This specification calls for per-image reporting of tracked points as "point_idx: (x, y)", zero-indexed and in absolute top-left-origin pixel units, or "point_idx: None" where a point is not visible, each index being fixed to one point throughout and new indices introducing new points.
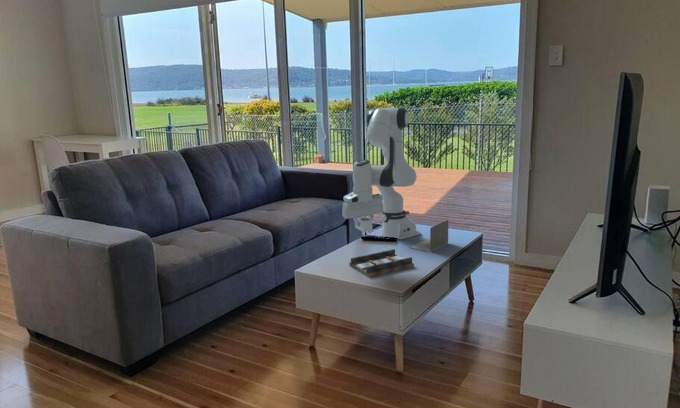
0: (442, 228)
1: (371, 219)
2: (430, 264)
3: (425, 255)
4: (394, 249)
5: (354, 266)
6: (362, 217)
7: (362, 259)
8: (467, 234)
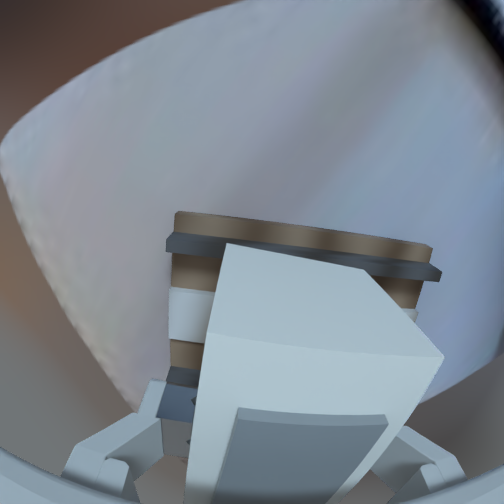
0: None
1: (383, 472)
2: None
3: (485, 316)
4: (440, 276)
5: (173, 267)
6: (297, 473)
7: None
8: None
